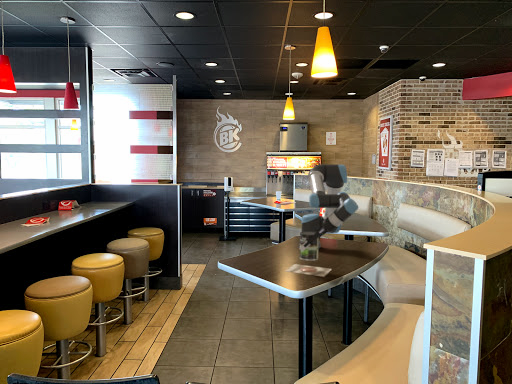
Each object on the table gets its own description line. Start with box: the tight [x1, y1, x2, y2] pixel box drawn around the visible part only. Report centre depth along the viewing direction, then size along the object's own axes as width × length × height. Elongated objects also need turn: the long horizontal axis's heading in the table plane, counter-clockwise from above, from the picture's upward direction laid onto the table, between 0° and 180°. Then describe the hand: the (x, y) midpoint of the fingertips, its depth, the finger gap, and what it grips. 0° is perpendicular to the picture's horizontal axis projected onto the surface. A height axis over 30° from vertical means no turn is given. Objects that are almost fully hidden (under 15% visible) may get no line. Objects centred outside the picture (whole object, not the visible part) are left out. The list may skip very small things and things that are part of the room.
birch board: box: [284, 263, 332, 278], centre depth 215 cm, size 22×16×1 cm
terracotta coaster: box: [300, 267, 317, 272], centre depth 215 cm, size 9×9×1 cm
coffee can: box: [299, 231, 320, 262], centre depth 214 cm, size 10×10×14 cm
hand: (303, 248), depth 215 cm, fingers closed on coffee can, 10 cm apart
